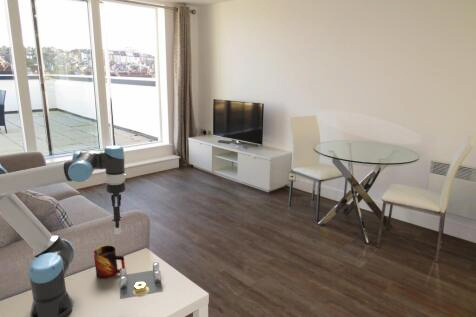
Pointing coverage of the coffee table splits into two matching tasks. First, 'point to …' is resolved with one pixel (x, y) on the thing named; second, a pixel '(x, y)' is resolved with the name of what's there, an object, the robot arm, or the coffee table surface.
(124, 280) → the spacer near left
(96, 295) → the coffee table surface
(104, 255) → the mug
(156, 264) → the spacer far right
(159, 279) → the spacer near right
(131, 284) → the mat
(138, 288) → the nut
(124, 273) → the spacer far left
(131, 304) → the coffee table surface
